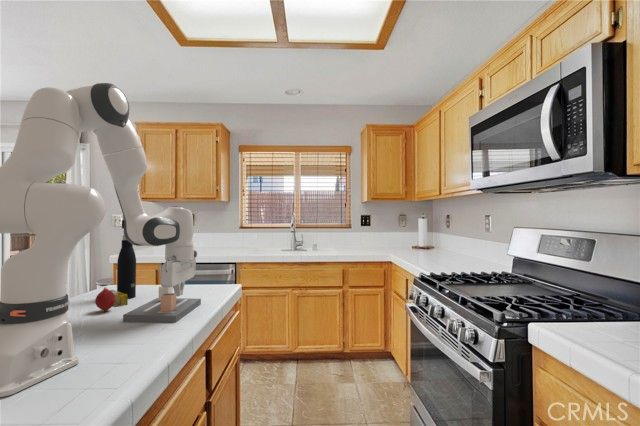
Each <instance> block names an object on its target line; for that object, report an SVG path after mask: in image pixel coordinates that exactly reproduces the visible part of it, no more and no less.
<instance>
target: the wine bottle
mask: <svg viewBox="0 0 640 426" xmlns="http://www.w3.org/2000/svg"><path fill="white" fill-rule="evenodd" d="M121 229H123V230H124V219H122V220H121ZM133 246H134V245H133V244H131V243H130V242H128V241H127V239H126V238H125V235H124V234H123V235H122V240H121V248H120V250H119V253H118V256H117V257H118V258H117V263H116V264H117V265H116V266H117V267H116V268H117V274H116V275H117V277H116V278H117V279H116V291H118V292H121V293H124V294H127V297H128V300H129V299H130V300H131V299H134V298H136V295H137V294H136V293H137V292H136V289H137V288H136V286H137V257H136V256H137V255H136V253H135V250H134V249H135V248H134V247H133Z"/></svg>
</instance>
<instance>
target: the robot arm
mask: <svg viewBox="0 0 640 426" xmlns="http://www.w3.org/2000/svg"><path fill="white" fill-rule="evenodd" d="M25 106H26V107H25V109H24V112H23V114H22V118H21V122H20V125H19V129H18V133H17V137H16V140H15V143H14V147H13V149H12V152H11V153H10V155H9V157H8V158H7V159H6V160H5V161H4V162H3V164H2V165H1V166H0V234H34V235H35V239H34V242H33V243H32V245H31V246H30V247H29V248H26V249H24V250H21V251H19V252H17V253H15V254H13V255H11V256H9V257H8V258H7V259H6V260H5V261H4V263H3V264H2V266H1V268H0V269H1V270H0V398H4V397H7V396H11V395H14V394H16V393H18V392H20V391H23V390H25V389H27V388H29V387H31V386H34V385H36V384H37V383H40V382H42V381H44V380H46V379H48V378H50V377H52V376H55V375H57V374H59V373H61V372H63V371H65V370H67V369H70V368H71V367H74V366H76V365H78V364H79V362H80V360H79V357H78V356H77V355H75V350H74V349H75V347H74V339H73V338H74V336H73V327H72V324H71V323H70V321H69V318H68V315H67V312H68V311H69V304H70V300H69V295H68V294H67V277H68V269H69V261H70V258H71V255H72V253H73V251H74V249H75V248H76V247H77V245H78V243H80V241H81V240H82V239H83V238H84V237H85V236H87V235H88V234H89V233H90V232H92V231H94V230H95V229H97V227H99V225H100V224H101V223H102V222H103V219H104V217H105V216H106V215H105V214H106V203H105V200H104V198H103V196H102V195H101V193H100V192H99V191H98V190H97V189H96V188H94V187H89V186H84V185H81V184H80V185H79V184H75V183H63V182H62V183H61V182H58V183H57V182H56V183H55V182H54V183H53V182H48V181H50V180H52V179H54V178H56V177H58V176H61V175H63V174H65V173H68V171H70V170H71V169H72V168H73V166H74V165H75V163H76V158H77V157H76V156H77V151H78V145H79V144H78V143H79V139H80V133H85V132H86V133H87V132H90V131H93V133H94V134H95V135H96V138H97V141H98V145H99V148H100V151H101V154H102V157H103V159H104V162H105V164H106V167H107V170H108V171H109V174H110V176H111V180H112V183H113V187H114V191H115V194H116V196H117V200H118V203H119V206H120V209H121V213H122V216H123V220H124V229H123V235H125V238H126V239H127V241H128V242H130V243H131V244H133V246H137V247H141V246H144V247H145V246H147V247H161V246H164V245H165V249H164V250H165V251H164V252H165V254H164V259H165V261H164V263H162V266H161V273H160V286H162V287H173V291H174V292H173V293H176V298H179V297H181V296H182V295H184V290H185V285H186V281H188V280H190V279H192V278H194V276H195V275H196V265H197V259H196V258H197V257H198V251H197V250H196V249H195V248H194V241H193V237H194V230H195V229H194V224H195V223H194V217H193V212H192V210H190V209H189V208H188V207H182V206H178V205H171V206H168V207H167V208H166V209H164V210H163V211H160V212H159V213H156V214H153V215H148V214H147V213H146V211H145V209H144V206H143V202H142V199H141V197H140V192H139V184H140V181H141V179H142V178H143V176H145V174H146V172H147V170H148V159H147V155H146V151H145V149H144V146H143V144H142V142H141V139H140V137H139V135H138V132H137V131H136V129H135V127H134V125H133V123H132V122H131V120H130V118H129V117H130V116H129V115H130V103H129V100H128V98H127V96H126V95H125V93H124V92H123V91H122V90H121V89H120V88H119V87H118V86H116V85H115V84H113V83H110V82H100V83H99V82H97V83H95V84H93V85H86V86H81V87H75V88H72V89H68V90H67V91H65V90H63V89H60V88H57V87H49V86H48V87H42V88H40V89H37V90H36V91H34V93H33V94H32V95H31V97H30V98H29V100H28V102H27V104H26V105H25Z"/></svg>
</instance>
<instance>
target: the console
mask: <svg viewBox="0 0 640 426" xmlns="http://www.w3.org/2000/svg"><path fill="white" fill-rule="evenodd" d="M201 302H202V298H185V297H184V298H182V297H180V298H179V297H176V309H174V310H173V311H171V312H161V301H159V297H156V298H154V299H152V300H150V301H148V302H146V303H144V304H142V305H140V306H138V307H136V308H134V309H132V310H129V312H126V313H124V314H123V316H122V322H126V323H129V322H130V323H131V322H132V323H133V322H135V323H136V322H137V323H177V322H178V321H180V320H181V319H182V318H184V317H186V316H187V315H188V314H189V313H191V312H192V311H194V309H196V308H198V307H199V306H201V304H202V303H201Z"/></svg>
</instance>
